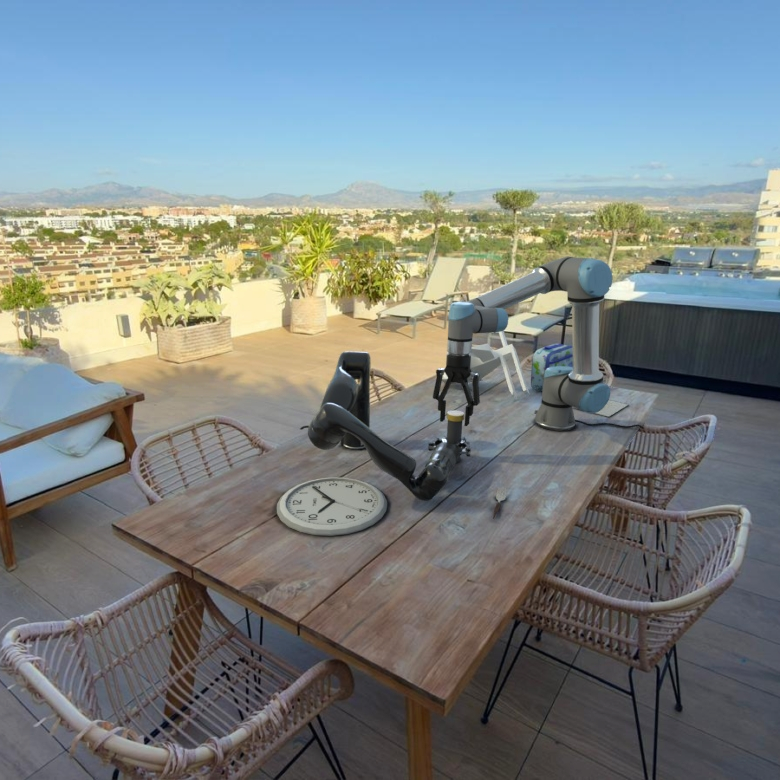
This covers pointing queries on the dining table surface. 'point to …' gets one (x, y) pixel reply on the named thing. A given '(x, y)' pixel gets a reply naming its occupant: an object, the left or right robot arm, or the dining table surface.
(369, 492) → the wall clock
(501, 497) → the fork
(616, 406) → the invitation card
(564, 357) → the lunch box
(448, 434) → the dark grey cylinder
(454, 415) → the lid
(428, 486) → the left robot arm
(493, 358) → the white plastic object
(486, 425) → the dining table surface
